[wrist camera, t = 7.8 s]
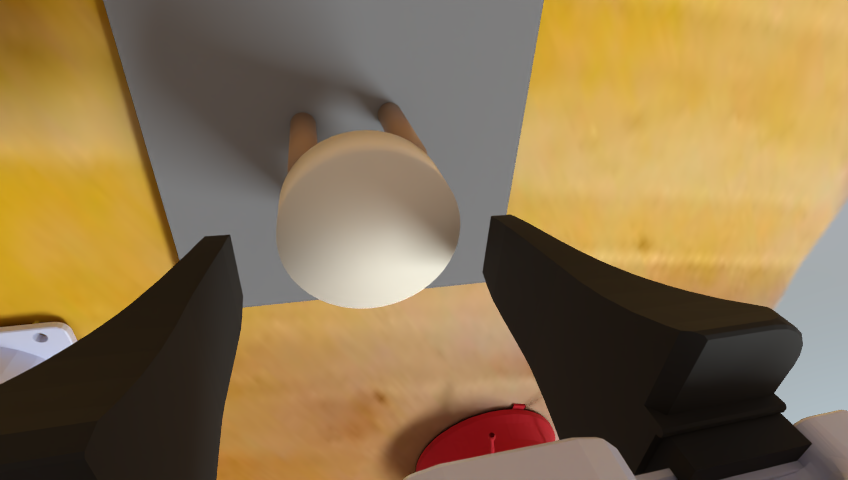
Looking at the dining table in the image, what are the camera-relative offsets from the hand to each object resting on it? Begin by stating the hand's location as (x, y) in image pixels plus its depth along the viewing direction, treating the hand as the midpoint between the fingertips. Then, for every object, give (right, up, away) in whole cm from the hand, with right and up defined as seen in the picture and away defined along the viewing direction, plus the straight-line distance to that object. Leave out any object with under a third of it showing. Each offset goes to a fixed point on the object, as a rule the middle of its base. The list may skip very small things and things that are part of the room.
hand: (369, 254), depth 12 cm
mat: (-1, +4, +5) cm, 7 cm away
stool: (-1, +4, +5) cm, 6 cm away
